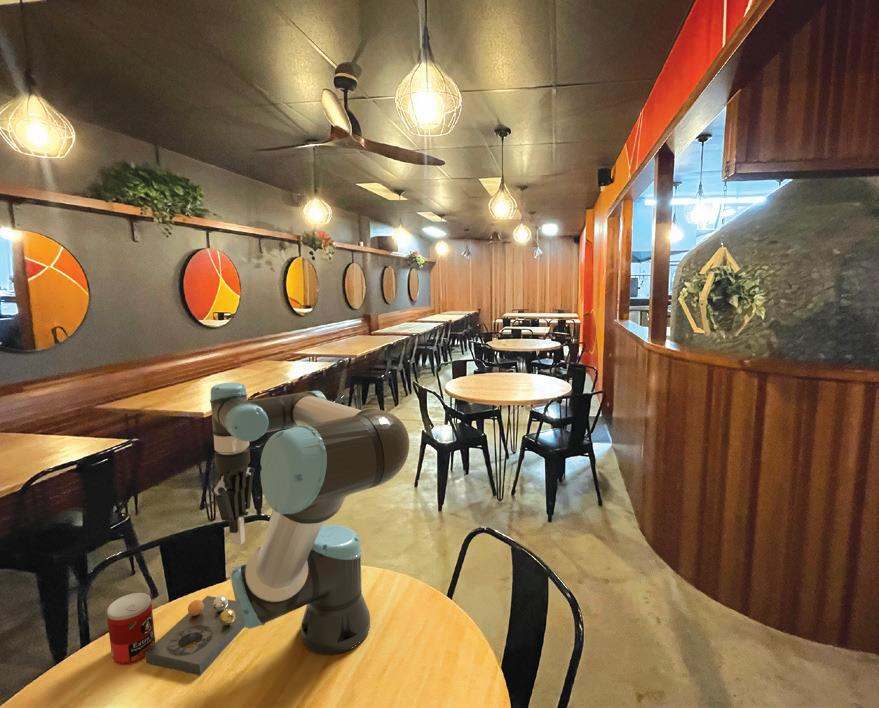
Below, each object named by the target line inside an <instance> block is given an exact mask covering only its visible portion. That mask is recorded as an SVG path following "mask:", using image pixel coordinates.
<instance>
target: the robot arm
mask: <svg viewBox="0 0 879 708" xmlns="http://www.w3.org/2000/svg"><path fill="white" fill-rule="evenodd" d="M247 397H248V394H247V389H246V385H245V384H243V383H241V382H223V383H218V384H215V385H213V386H212V387H211V388H210V400H209V403H210V407H211V421H212V422H211V423H212V433H213V444H214V445H213V446H214V451H215V452H214V464H215V468H216V469H218V472H219V475H218V483H217V485H216V486H212V487H211V488H210V491H211V493H212V494H213V496H214V497H215V501H216V504H217V508H218V512H219V516H220V520H221V521H224V522H228V527H229V529H228V530H229V533H230V544H234V545H240V546H241V545H243V544H244V543H245V542H246V537H245V536H246V535H245V534H246V533H245V524H246V523H245V516H249V511H247V510H249V509H250V508H251V502H252V501H251V500H252V488H253V480H254V479H253V478H254V475H255V471H256V469H255V468H254V467H249V464H250V462H251V452H250V451H251V449H250V447H249V446H250V442H254V441H257V440H258V439H260V438H261V437H262V436H264V435H265V434H266V433H270V432H274V434H273V435H271V436H270V437H269V438H268V440H267V441H266V443H265V445H264V447H263V449H262V452H261V457H260V466H261V470H260V474H259V475H260V484H261V489H262V491H263V492H262V493H263V495H264V498H265V500H266V502H267V505H269V507H270V508H271V509H272V512H271V515H270V518H269V522H268V524H267V527H266V530H265V533H264V537H263V540H262V542H261V546H259V547H258V548H257V549H255V550H254V552H253V553H252V554H251V555H250V557H249V559H248V560H247V563H244V564H239V566H236V567H235V568H233V569H232V570H231V571H230V582H231V587H232V590H233V591H232V592H233V596H234V601H236V604H237V608H238V611H239V614H240V617H241V620H242V623H243V625H244V626H245V627H244V628H246V629H248V630H249V629H254V628H258V627H260V626H264V625H266V623H269V622H272V621H273V620H275V619H278V618H280V617H283V616H285V615H286V614H289V613H291V612H294V611H296V610H298V609H300V608H302V607H305V610H304V613H303V616H302V620H301V623H300V624H301V625H300V634H301V635H300V638H301V640H302V643H303V645H304V647H306V648H307V649H308V650H310V651H311V652H313V653H317V654H318V655H319V654H320V655H339V654H343V653H346V652H348V651H350V650H349V649H351V648H352V647H354V646H355V645H357V644H358V643H359V642H361V641H362V640H363V639H364V638H365V636H366V635H367V633H368V631H369V632H370V630H369V629H371V615H370V614H371V613H370V610H369V607H368V606H367V603H366V601H365V598H364V596H363V592H362V554H363V553H362V549H361V541H360V537H359V535H358V534H357V532H356V531H354V530H353V529H351V528H349V527H347V526H343V525H339V524H325V525H324V523H325V522H327V521H329V520H330V519H331V518H333V517H334V516H335V515H336V514H338V512H339V511H340V509H341V507H342V505H343V503H344V501H345V500H346V497H348V496H350V495H353V494H357V493H359V492H362V491H363V492H364V491H366V490H369V489H371V488H375V487H378V486H379V487H380V486H381V485H383V484H386V483H388V482H389V481H390V480H392V479H393V478H394V477H396V475H398V473H400V471H401V470H402V468H403V467H404V466H405V463H406V461H407V458H408V455H409V451H410V438H409V437H410V436H409V432H408V430H407V427H406V426H405V425H404V423H403V421H401V419H399V417H398V416H396V415H394V414H392V413H391V412H389V411H385V410H382V409H378V408H373V407H369V408H368V407H367V408H364V409H359V408H358V409H357V408H354V407H352V406H347V405H346V404H341V403H337V402H334V401H331V400H328V399H327V398H326V396H325V395H324V393H323V392H322V391H320V390H311V391H310V390H305V391H302V392H298V393H297V392H296V393H291V394H290V393H289V394H285V395H278V396H277V395H276V396H270V397H264V398H263V397H262V398H256V399H251V400H250V399H248V398H247ZM275 431H277V432H276V433H275ZM368 634H369V633H368ZM367 636H368V635H367ZM367 636H366V637H367ZM365 639H366V638H365ZM365 639H364V640H365ZM364 640H363V641H364ZM363 641H362V642H363ZM362 642H361V643H362ZM357 646H358V645H357ZM354 648H355V647H354ZM347 650H348V651H347ZM351 650H352V649H351ZM345 651H346V652H345ZM342 652H343V653H342Z"/></svg>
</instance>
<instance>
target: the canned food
mask: <svg viewBox="0 0 879 708" xmlns="http://www.w3.org/2000/svg"><path fill="white" fill-rule="evenodd" d="M106 619H107V628H108V634H109V635H108V636H109V643H110V650H111V651H110V652H111V658H112V660H113V662H114V663H115V664H117V665H122V666H126V665H131V664H134V663H138V662H140V661H142V660H143V659H146V658H145V652H146V651H147V650H148V649H149V648H150V647H151V646H153V645H154V644H155V643H156V636H155V623H154V614H153V605H152V598H151V596H150V595H149V593H148V594H147V593H145V592H132V593H129V594H126V595H124V596H121V597H119V598H117V599H116V600H114V601H113V602H112V603H111V604H110V605H109V606H108V607H107V610H106Z"/></svg>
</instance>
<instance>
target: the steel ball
mask: <svg viewBox="0 0 879 708" xmlns="http://www.w3.org/2000/svg"><path fill="white" fill-rule="evenodd" d="M228 600H229V599H228V597H226V596H225V595H219V596H217V598H216V599H215V600H214V602H213V608H214V610H215V611H218V612H220V611H223V610H224V609H225V608H226V607H227V605H228Z"/></svg>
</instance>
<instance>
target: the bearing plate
mask: <svg viewBox="0 0 879 708" xmlns="http://www.w3.org/2000/svg"><path fill="white" fill-rule="evenodd" d="M217 597H218V596H217ZM217 597H216V596H210V595H206V597H204V598H203V599H202V600H201V601H202V602H203V604H204V608H203V610H202V612H201V613H200V614H198V615H196V616H192V615H190V614H189V613H187V614H185V616H183V617H182V618H181V619H180V620H179V621H178V622H176V624H174V625H173V626H172V627H171V628H170V629H169V630H167V632H166V633H165V634H164V635H162V636H161V637H160V638H158V640H156V641H155V644H154V645H153V646H151V647H150V648H149V649H148V650H147V651H146V652H145V658H144V659H145V664H147V665H152V666H156V667H160V668H165V669H170V670H173V671H178V672H181V673H182V672H183V673H188V674H191V675H196V676H202V675H203V674H204V672H206V670H207V669H208V668H209V667H210V666H211V665H212V664H213V663H214V661H215V660H216V659H217V658H218V657H219V655H221V654H222V653H223V651H225V649H227V647H228V646H229V645H230V643H232V641H233V640H234V639H235V638H236V637H237V636H238V634H239V633H240V632H241V631H242V630H243V629H244V628H246V627H245V626H244V625H243V623H242V620H241V617H240V614H239V611H238V608H237V604H236V600H235V599H234V600H232V599H228V605H227V607H226V608H225V609H224V610H226V609H231V610H233V611H234V612H235V619H234V621H233V622H232V623H231V624H230V625H227V626H224V625H222V624H221V623H220V621H219V618H220V615H221V613H222V612H223V611H224V610H223V611H220V612H218V611H215V610H214V608H213V602H214V600H215V599H216V598H217ZM196 643H197V644H196ZM190 644H194V645H193V646H191V647H187V646H188V645H190ZM184 647H185V648H184Z"/></svg>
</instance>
